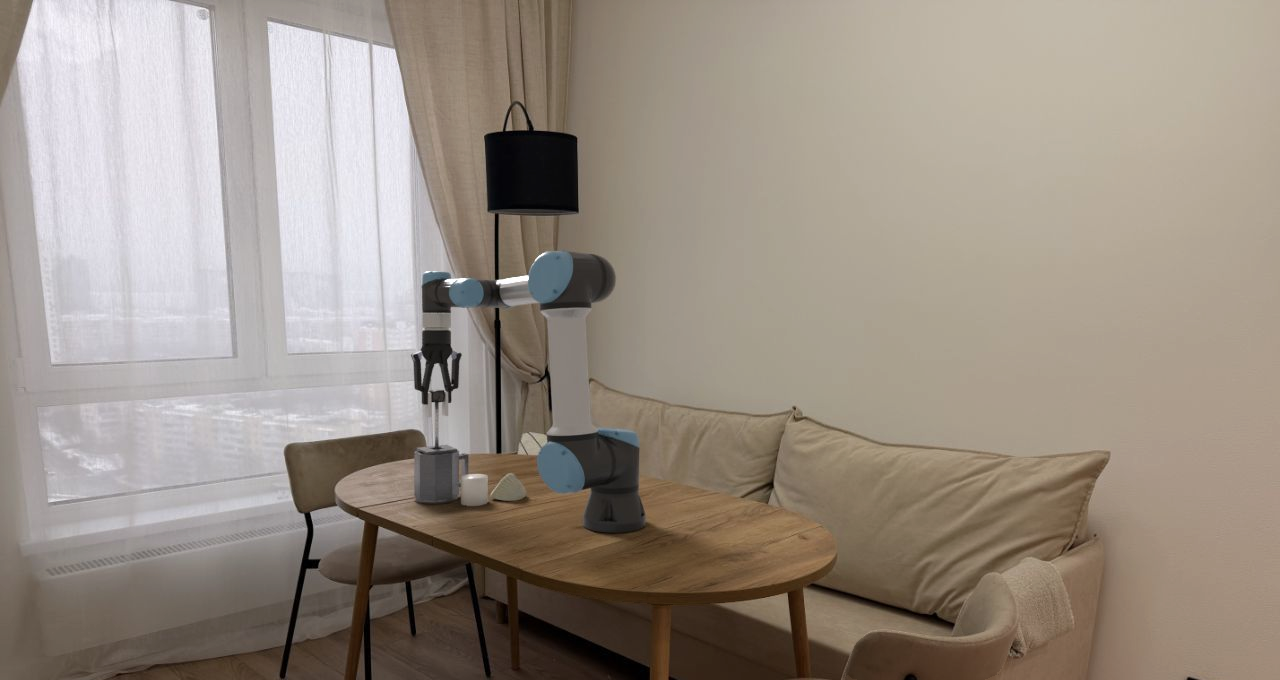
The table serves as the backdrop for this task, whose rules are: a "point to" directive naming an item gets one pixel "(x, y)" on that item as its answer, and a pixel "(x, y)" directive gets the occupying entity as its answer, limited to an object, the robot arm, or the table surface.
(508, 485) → the seashell
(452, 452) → the press
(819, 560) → the table surface
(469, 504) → the white pillar candle
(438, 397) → the plunger
